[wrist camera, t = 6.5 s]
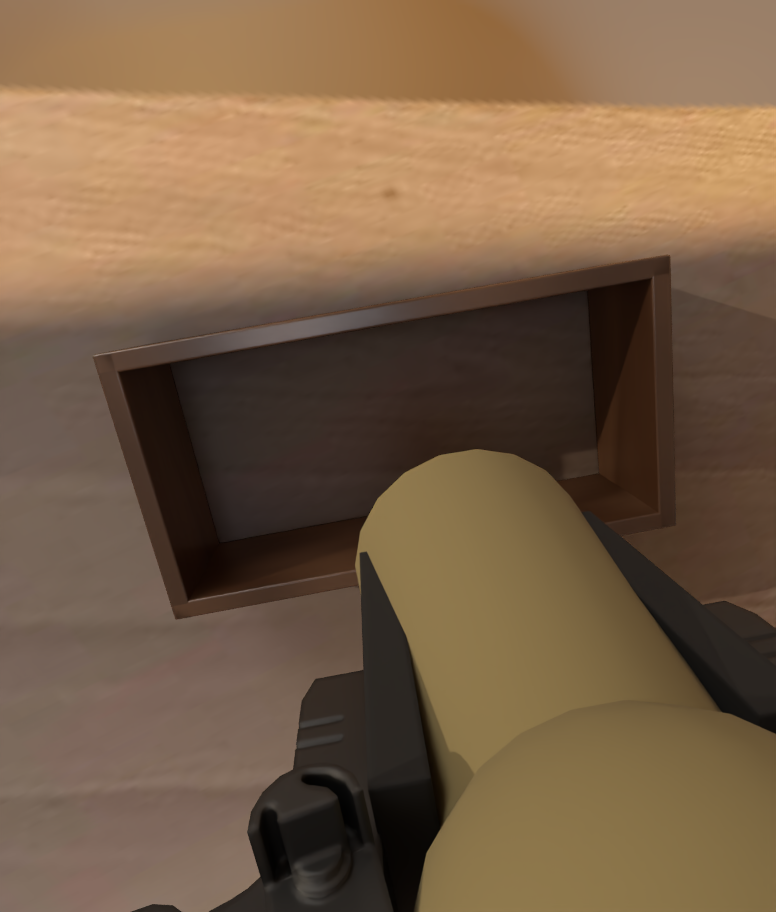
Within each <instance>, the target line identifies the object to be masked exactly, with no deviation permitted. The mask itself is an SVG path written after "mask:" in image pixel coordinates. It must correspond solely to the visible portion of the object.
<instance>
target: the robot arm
mask: <svg viewBox="0 0 776 912" xmlns="http://www.w3.org/2000/svg"><path fill="white" fill-rule="evenodd" d="M581 513H582V514H583V516H584V517H585V519H586V520H587V522H588V523H589V525H590V526H591V528H592V529H593V531H594V532H595V534H596V535H597V537H598V538H599V540H600V541H601V543H602V544H603V546H604V547H605V549H606V550H607V552H608V553H609V555H610V556H611V558H612V559H613V561H614V562H615V564H616V565H617V567H618V568H619V570H620V571H621V573H622V574H623V576H624V577H625V578H626V580H627V581H628V583H629V584H630V586H631V587H632V589H633V590H634V592H635V593H636V594H637V596H638V597H639V599H640V600H641V601H642V603H643V604H644V605H645V607H646V608H647V609H648V611H649V612H650V613H651V615H652V616H653V617H654V619H655V620H656V621H657V623H658V624H659V625H660V627H661V628H662V629H663V631H664V632H665V634H666V635H667V636H668V638H669V639H670V640H671V642H672V643H673V644H674V646H675V647H676V648H677V650H678V651H679V652H680V654H681V655H682V656H683V658H684V659H685V660H686V662H687V663H688V665H689V666H690V667H691V669H692V670H693V672H694V673H695V674H696V676H697V677H698V679H699V680H700V682H701V683H702V684H703V686H704V687H705V689H706V690H707V692H708V693H709V694H710V696H711V697H712V699H713V700H714V702H715V703H716V704H717V706H718V707H719V709H720V710H721V711H722V713H728V714H732V715H734V716H736V717H739V718H741V719H743V720H745V721H748V722H750V723H752V724H754V725H757V726H759V727H761V728H764V729H766V730H768V731H770V732H773V733H775V734H776V628H774V627H773V626H772V625H770V624H769V623H768V622H766V621H765V620H764V619H762V618H761V617H759V616H758V615H757V614H755V613H753V612H750V611H748V610H746V609H743V608H741V607H738V606H736V605H734V604H731V603H729V602H727V601H721V602H715V603H710V604H705V605H702V604H701V603H700V602H699V601H697V600H696V599H695V598H694V597H693V596H691V595H690V594H689V593H688V592H687V591H685V590H684V589H683V588H682V587H681V586H679V585H678V584H677V583H676V582H675V581H673V580H672V579H671V578H670V577H669V576H667V575H666V574H665V573H664V572H663V571H661V570H660V569H659V568H658V567H657V566H655V565H654V564H653V563H652V562H651V561H649V560H648V559H647V558H646V557H645V556H643V555H642V554H641V553H640V552H639V551H637V550H636V549H635V548H634V547H633V546H631V545H630V544H629V543H628V542H627V541H625V540H624V539H623V538H622V537H621V536H619V535H618V534H617V533H616V532H615V531H613V530H612V529H611V528H610V527H609V526H607V525H606V524H605V523H604V522H603V521H601V520H600V519H599V518H598V517H597V516H595V515H594V514H593V513H592V512H591V511H586V512H581ZM359 554H360V582H361V610H362V638H363V667H364V670H362V671H356V672H351V673H346V674H340V675H335V676H329V677H324V678H319V679H315V681H314V682H313V684H312V685H311V687H310V689H309V690H308V692H307V693H306V695H305V697H304V698H303V700H302V703H301V711H300V719H299V729H298V735H297V742H296V745H297V749H296V750H295V758H294V766H293V770H291V771H289V772H288V773H286V774H284V775H282V776H280V777H279V778H278V779H277V780H276V781H274V782H273V783H272V784H271V785H270V786H269V787H268V788H267V789H266V790H265V791H264V792H263V793H262V794H261V796H260V798H259V799H258V801H257V803H256V804H255V806H254V808H253V809H252V811H251V816H250V821H249V826H248V831H247V833H248V836H249V840H250V843H251V846H252V850H253V853H254V856H255V859H256V863H257V866H258V869H259V873H260V876H261V877H260V878H259V879H258V880H256V881H255V882H254V883H253V884H252V885H251V886H250V887H249V888H248V889H246V890H245V891H243V892H242V893H240V894H239V895H237V896H236V897H234V898H233V899H231V900H229V901H228V902H226V903H224V904H222V905H220V906H218V907H216V908H215V909H213V910H211V911H209V912H414V907H415V902H416V898H417V893H418V889H419V884H420V880H421V876H422V871H423V867H424V862H425V858H426V854H427V852H428V850H429V848H430V846H431V845H432V843H433V841H434V840H435V838H436V836H437V834H438V833H439V831H440V826H439V820H438V814H437V808H436V803H435V797H434V791H433V786H432V780H431V774H430V768H429V763H428V757H427V751H426V746H425V740H424V734H423V728H422V723H421V717H420V711H419V705H418V700H417V694H416V688H415V682H414V677H413V671H412V665H411V659H410V654H409V648H408V642H407V637H406V634H405V632H404V630H403V628H402V626H401V624H400V622H399V619H398V617H397V615H396V613H395V611H394V609H393V607H392V604H391V602H390V600H389V598H388V596H387V594H386V592H385V589H384V587H383V585H382V583H381V581H380V579H379V577H378V574H377V572H376V570H375V568H374V566H373V564H372V562H371V559H370V557H369V555H368V553H367V551H366V552H361V553H359ZM132 912H181V911H180V910H178V909H177V908H176V907H174V906H173V905H157V904H152V905H149V906H146V907H144V908H141V909H138V910H135V911H132Z"/></svg>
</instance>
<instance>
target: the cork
mask: <svg viewBox="0 0 776 912" xmlns="http://www.w3.org/2000/svg"><path fill="white" fill-rule="evenodd" d="M366 551H367V553H368V555H369V557H370V559H371V562H372V564H373V566H374V568H375V570H376V572H377V574H378V577H379V579H380V581H381V583H382V585H383V587H384V589H385V592H386V594H387V596H388V598H389V600H390V602H391V604H392V607H393V609H394V611H395V613H396V615H397V617H398V619H399V622H400V624H401V626H402V628H403V630H404V632H405V634H406V637H407V642H408V648H409V654H410V659H411V665H412V671H413V677H414V682H415V688H416V694H417V700H418V705H419V711H420V717H421V723H422V728H423V734H424V740H425V746H426V751H427V757H428V763H429V768H430V774H431V780H432V786H433V791H434V797H435V803H436V808H437V814H438V820H439V826H440V831H439V833H438V834H437V836H436V838H435V840H434V841H433V843H432V845H431V846H430V848H429V850H428V852H427V854H426V858H425V862H424V867H423V871H422V876H421V880H420V884H419V889H418V893H417V898H416V902H415V907H414V912H776V734H775V733H773V732H770V731H768V730H766V729H764V728H761V727H759V726H757V725H754V724H752V723H750V722H748V721H745V720H743V719H741V718H739V717H736V716H734V715H732V714H728V713H722V711H721V710H720V709H719V707H718V706H717V704H716V703H715V702H714V700H713V699H712V697H711V696H710V694H709V693H708V692H707V690H706V689H705V687H704V686H703V684H702V683H701V682H700V680H699V679H698V677H697V676H696V674H695V673H694V672H693V670H692V669H691V667H690V666H689V665H688V663H687V662H686V660H685V659H684V658H683V656H682V655H681V654H680V652H679V651H678V650H677V648H676V647H675V646H674V644H673V643H672V642H671V640H670V639H669V638H668V636H667V635H666V634H665V632H664V631H663V629H662V628H661V627H660V625H659V624H658V623H657V621H656V620H655V619H654V617H653V616H652V615H651V613H650V612H649V611H648V609H647V608H646V607H645V605H644V604H643V603H642V601H641V600H640V599H639V597H638V596H637V594H636V593H635V592H634V590H633V589H632V587H631V586H630V584H629V583H628V581H627V580H626V578H625V577H624V576H623V574H622V573H621V571H620V570H619V568H618V567H617V565H616V564H615V562H614V561H613V559H612V558H611V556H610V555H609V553H608V552H607V550H606V549H605V547H604V546H603V544H602V543H601V541H600V540H599V538H598V537H597V535H596V534H595V532H594V531H593V529H592V528H591V526H590V525H589V523H588V522H587V520H586V519H585V517H584V516H583V514H582V513H581V511H580V509H579V508H578V507H577V505H576V504H575V502H574V501H573V499H572V498H571V497H570V495H569V494H568V493H567V492H566V491H565V490H564V489H563V488H562V487H561V486H560V485H559V484H558V483H557V482H556V481H555V479H554V478H553V477H552V476H551V475H550V474H549V473H548V472H547V471H546V470H544V469H542V468H540V467H538V466H536V465H534V464H532V463H530V462H528V461H526V460H524V459H522V458H520V457H518V456H516V455H514V454H508V453H501V452H494V451H487V450H480V449H474V450H468V451H462V452H456V453H450V454H444V455H439V456H437V457H435V458H433V459H431V460H429V461H427V462H425V463H423V464H421V465H419V466H417V467H415V468H413V469H411V470H409V471H407V472H405V473H404V474H403V475H402V476H401V477H400V478H398V479H397V480H396V481H395V482H394V483H393V484H392V485H391V486H390V487H389V488H388V489H387V490H386V491H385V492H384V493H383V494H382V495H381V496H380V497H379V498H378V499H377V501H376V503H375V504H374V506H373V508H372V510H371V512H370V514H369V516H368V518H367V519H366V521H365V523H364V525H363V527H362V529H361V531H360V537H359V543H358V549H357V556H356V562H355V568H356V573H357V578H358V583H359V589H360V594H361V582H360V554H359V553H361V552H366Z"/></svg>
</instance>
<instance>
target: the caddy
mask: <svg viewBox="0 0 776 912" xmlns="http://www.w3.org/2000/svg"><path fill="white" fill-rule="evenodd" d="M585 290H588V301H589V317H590V334H591V350H592V366H593V382H594V398H595V414H596V430H597V447H598V463H599V474H594V475H588V476H583V477H577V478H572V479H567V480H561V481H556V482H557V483H558V484H559V485H560V486H561V487H562V488H563V489H564V490H565V491H566V492H567V493H568V494H569V495H570V497H571V498H572V499H573V501H574V502H575V504H576V505H577V507H578V508H579V509H580V511H581V512H586V511H591V512H592V513H593V514H594V515H595V516H597V517H598V518H599V519H600V520H601V521H603V522H604V523H605V524H606V525H607V526H609V527H610V528H611V529H612V530H613V531H615V532H616V533H617V534H618V535H619V536H622V535H627V534H632V533H638V532H643V531H648V530H654V529H659V528H664V527H670V526H675V525H676V504H675V457H674V410H673V362H672V315H671V268H670V255H663V256H656V257H650V258H644V259H638V260H632V261H625V262H619V263H613V264H607V265H601V266H595V267H589V268H583V269H578V270H572V271H566V272H560V273H555V274H549V275H543V276H537V277H532V278H526V279H520V280H514V281H509V282H503V283H497V284H492V285H486V286H480V287H474V288H469V289H463V290H457V291H451V292H446V293H440V294H434V295H428V296H423V297H417V298H411V299H405V300H400V301H394V302H388V303H383V304H377V305H371V306H365V307H360V308H354V309H348V310H342V311H337V312H331V313H325V314H319V315H314V316H308V317H302V318H296V319H291V320H285V321H279V322H274V323H268V324H262V325H256V326H251V327H245V328H239V329H233V330H228V331H222V332H216V333H210V334H205V335H199V336H193V337H187V338H182V339H176V340H170V341H165V342H159V343H153V344H147V345H142V346H137V347H132V348H127V349H121V350H116V351H111V352H106V353H100V354H95V355H93V359H94V362H95V365H96V369H97V372H98V375H99V378H100V381H101V384H102V388H103V391H104V394H105V397H106V400H107V403H108V407H109V410H110V413H111V416H112V419H113V422H114V426H115V429H116V432H117V435H118V438H119V442H120V445H121V448H122V451H123V454H124V457H125V461H126V464H127V467H128V470H129V473H130V476H131V480H132V483H133V486H134V489H135V492H136V495H137V499H138V502H139V505H140V508H141V511H142V515H143V518H144V521H145V524H146V527H147V530H148V534H149V537H150V540H151V543H152V546H153V549H154V553H155V556H156V559H157V562H158V565H159V568H160V572H161V575H162V578H163V581H164V584H165V588H166V591H167V594H168V597H169V600H170V603H171V607H172V610H173V613H174V616H175V619H182V618H188V617H192V616H198V615H203V614H208V613H214V612H219V611H224V610H230V609H235V608H240V607H245V606H251V605H256V604H261V603H267V602H272V601H277V600H283V599H288V598H293V597H298V596H304V595H309V594H314V593H320V592H325V591H330V590H336V589H341V588H346V587H351V586H357V585H359V583H358V578H357V573H356V568H355V562H356V556H357V549H358V543H359V537H360V531H361V529H362V527H363V525H364V523H365V521H366V519H367V518H368V516H367V517H361V518H356V519H351V520H345V521H340V522H334V523H329V524H324V525H318V526H313V527H307V528H302V529H297V530H291V531H286V532H280V533H275V534H270V535H264V536H259V537H253V538H248V539H243V540H237V541H232V542H226V543H221V544H219V542H218V538H217V535H216V531H215V527H214V524H213V520H212V517H211V513H210V509H209V506H208V502H207V499H206V495H205V491H204V488H203V484H202V481H201V477H200V473H199V470H198V466H197V463H196V459H195V455H194V452H193V448H192V445H191V441H190V437H189V434H188V430H187V427H186V423H185V419H184V416H183V412H182V409H181V405H180V401H179V398H178V394H177V390H176V387H175V383H174V380H173V376H172V372H171V369H170V365H169V363H175V362H181V361H186V360H192V359H198V358H203V357H209V356H215V355H221V354H226V353H232V352H238V351H243V350H249V349H255V348H260V347H266V346H272V345H278V344H283V343H289V342H295V341H300V340H306V339H312V338H317V337H323V336H329V335H334V334H340V333H346V332H352V331H357V330H363V329H369V328H374V327H380V326H386V325H391V324H397V323H403V322H409V321H414V320H420V319H426V318H431V317H437V316H443V315H448V314H454V313H460V312H466V311H471V310H477V309H483V308H488V307H494V306H500V305H505V304H511V303H517V302H523V301H528V300H534V299H540V298H545V297H551V296H557V295H562V294H568V293H574V292H580V291H585Z"/></svg>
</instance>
